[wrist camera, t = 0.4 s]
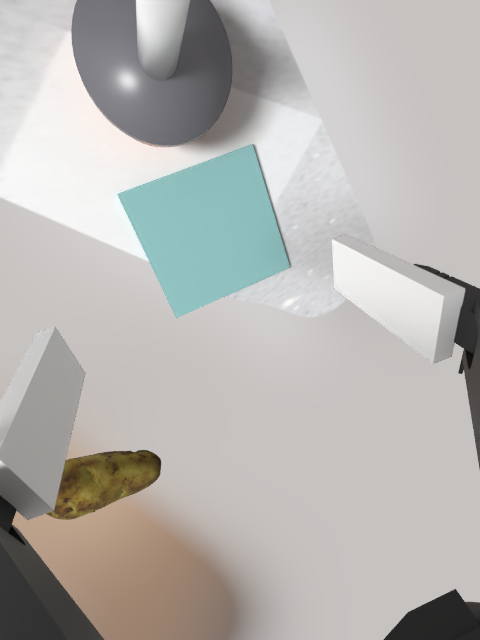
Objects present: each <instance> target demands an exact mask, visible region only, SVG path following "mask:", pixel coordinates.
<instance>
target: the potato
mask: <svg viewBox="0 0 480 640" xmlns="http://www.w3.org/2000/svg"><path fill="white" fill-rule="evenodd" d="M160 470H161V460H160V458H159V457H158V456H157V455H156V454H154V453H152V452H150V451H147V450H139V451H137V452H131V451H113V452H104V453H98V454H94V455H89V456H84V457H79V458H73V459H69V460H65V465H64V469H63V473H62V478H61V482H60V486H59V491H58V495H57V499H56V504H55V508H54V510H53V511H51V512H48V513H46V514H47V515H49V516H51V517H54V518H57V519H65V520H67V519H68V520H69V519H75V518H77V517H80V516H83V515H85V514H88V513H91V512H95V511H96V510H98V509H100V508H102V507H105V506H106V505H108V504H111V503H113V502H115V501H117V500H119V499H121V498H124V497H126V496H129V495H132V494H135V493H137V492H139V491H141V490H143V489H145V488H146V487H148V486H150V485H151V484H152V483H154V482H155V481H156V480H157V479H158V477H159V475H160Z"/></svg>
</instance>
